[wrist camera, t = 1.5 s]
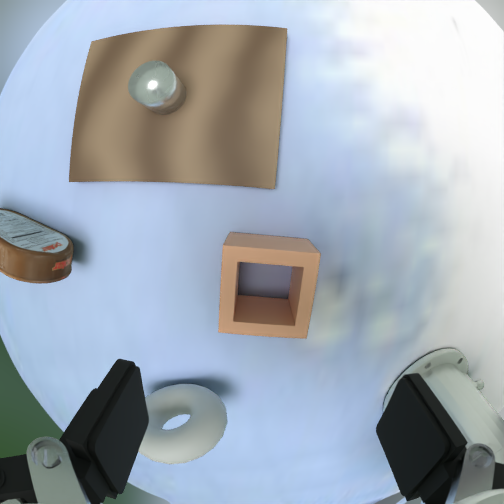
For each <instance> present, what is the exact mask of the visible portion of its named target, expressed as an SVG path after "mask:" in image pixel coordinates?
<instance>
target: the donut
mask: <svg viewBox="0 0 504 504" xmlns="http://www.w3.org/2000/svg"><path fill="white" fill-rule="evenodd" d="M145 401H146V406H147V410H148V415H149V424H148V427H147V430H146V432H145V435H144V437H143V440H142V443H141V445H140V448H139V451H138V452H140V453H141V454H142V455H144V456H146V457H147V458H149V459H151V460H152V461H156V462H161V463H166V464H178V463H186V462H189V461H192V460H194V459H197V458H200V457H202V456H203V455H205V454H206V453H207V452H209V451H210V450H211V449H213V448H214V447H215V446H216V444H217V443H218V442H219V441H220V439H221V438H222V437H223V434H224V431H225V428H226V425H227V413H226V407H225V405H224V404H223V402H222V401H221V399H220V398H219V396H218V395H217V394H215V393H214V392H212V391H211V390H209V389H208V388H206V387H203V386H199V385H195V384H177V385H171V386H167V387H164V388H162V389H159V390H156V391H155V392H153V393H151V394H150V395H148V396H146V397H145ZM182 414H189V415H191V416H190V419H189V420H188V421H187V422H186V423H184V424H183V425H181V426H180V427H177V428H174V429H170V430H164V429H162V427H163V425H164V424H165V423H166V422H167V421H168V420H170V419H171V418H173V417H175V416H178V415H182Z"/></svg>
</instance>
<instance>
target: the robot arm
mask: <svg viewBox="0 0 504 504" xmlns="http://www.w3.org/2000/svg"><path fill="white" fill-rule="evenodd" d="M467 374H468V362H467V359H466V358H465V356H464V355H463V354H462V353H461V352H460V351H458V350H456V349H450V348H448V349H441V350H438V351H435V352H432V353H430V354H428V355H426V356H424V357H423V358H421V359H420V360H418V361H417V362H415V363H414V364H413V365H411V366H410V367H409V368H408V369H407V370H406V371H405V372H404V373H403V374H402V375H401V376H400V377H399V378H398V379H397V380H396V382H395V383H394V384H393V386H392V387H391V389H390V390H389V392H388V394H387V396H386V398H385V402H384V405H383V412H384V413H383V415H382V417H381V419H380V421H379V422H378V424H377V427H376V433H377V435H378V438H379V440H380V443H381V445H382V447H383V450H384V452H385V455H386V457H387V460H388V462H389V464H390V467H391V469H392V472H393V474H394V477H395V480H396V482H397V485H398V487H399V490H400V492H401V494H402V495H403V496H405V497H406V500H407V501H410V500H413V499H416V498H418V497H421V499H422V501H421V504H504V420H503V419H502V418H501V417H500V415H499V414H498V413H497V412H496V411H495V409H494V408H493V407H492V406H491V405H490V403H489V402H488V401H487V400H486V399H485V398H484V396H483V395H482V393H481V392H480V391H478V390H480V389H482V388H483V387H484V381H483V380H479V381H475V382H474V381H473V380H472V379H471V378H470V377H469V376H468V375H467ZM148 424H149V415H148V410H147V406H146V401H145V396H144V390H143V385H142V379H141V373H140V368H139V367H137V366H136V365H135V363H134V362H132V361H127V360H123V359H118V360H117V361H116V362H115V364H114V365H113V366H112V368H111V369H110V371H109V372H108V374H107V375H106V377H105V378H104V380H103V381H102V383H101V384H100V386H99V387H98V388H97V389H96V388H95V389H93V390H92V391H91V392H90V394H89V395H88V397H87V398H86V400H85V401H84V403H83V404H82V406H81V407H80V409H79V410H78V412H77V413H76V415H75V416H74V418H73V419H72V421H71V422H70V424H69V426H68V427H67V429H66V430H65V432H64V434H63V435H62V437H61V438H60V440H57V439H55V438H52V437H41V438H38V439H36V440H34V441H32V442H31V444H30V445H29V446H28V449H27V454H24V455H19V456H13V457H6V458H0V504H102V503H103V502H104V499H105V497H106V496H107V497H110V498H113V499H116V497H117V494H118V493H119V494H122V493H123V491H124V489H125V486H126V483H127V480H128V477H129V475H130V472H131V469H132V467H133V464H134V461H135V459H136V456H137V453H138V451H139V448H140V445H141V443H142V440H143V437H144V435H145V432H146V430H147V427H148Z"/></svg>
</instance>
